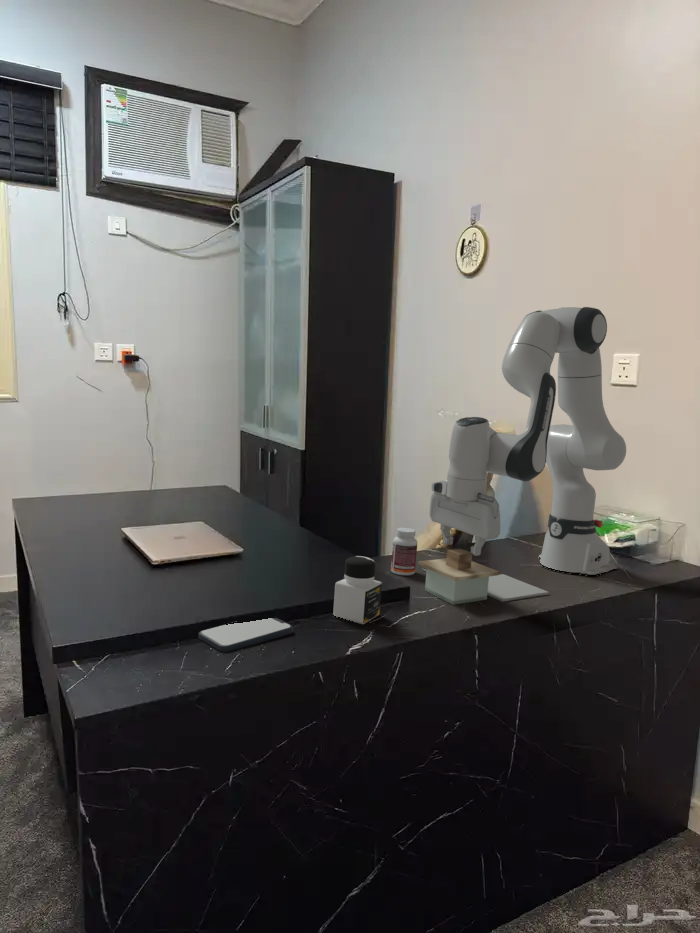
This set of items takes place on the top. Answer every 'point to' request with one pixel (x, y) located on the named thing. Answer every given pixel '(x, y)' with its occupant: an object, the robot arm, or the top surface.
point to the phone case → (244, 633)
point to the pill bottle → (404, 552)
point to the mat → (511, 588)
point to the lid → (458, 566)
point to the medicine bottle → (358, 591)
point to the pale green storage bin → (456, 588)
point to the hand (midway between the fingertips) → (461, 549)
